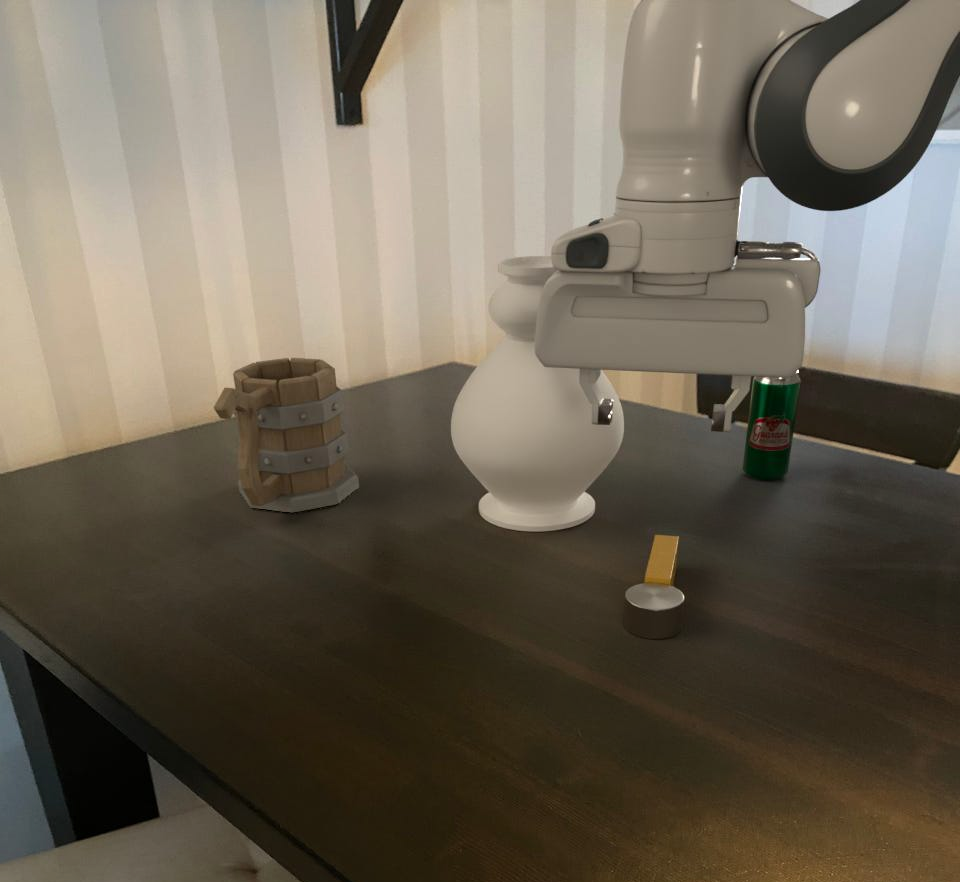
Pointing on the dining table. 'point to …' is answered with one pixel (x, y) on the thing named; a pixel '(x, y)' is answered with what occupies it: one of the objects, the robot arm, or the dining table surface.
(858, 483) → the dining table surface
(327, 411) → the tankard
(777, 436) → the soda can
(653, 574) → the silver puck with tab
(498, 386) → the decorative vase
